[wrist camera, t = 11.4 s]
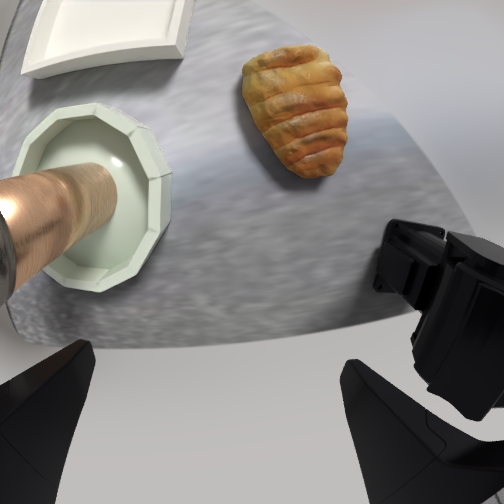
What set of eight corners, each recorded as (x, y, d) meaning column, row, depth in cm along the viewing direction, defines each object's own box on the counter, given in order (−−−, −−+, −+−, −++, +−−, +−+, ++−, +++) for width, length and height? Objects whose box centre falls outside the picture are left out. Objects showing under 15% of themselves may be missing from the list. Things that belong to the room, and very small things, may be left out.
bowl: (178, 105, 17) (168, 98, 14) (170, 281, 22) (161, 300, 19) (34, 119, 16) (13, 118, 13) (40, 265, 20) (23, 279, 18)
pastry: (355, 165, 19) (378, 169, 16) (271, 188, 20) (278, 197, 16) (320, 50, 16) (336, 33, 12) (232, 68, 16) (230, 51, 13)
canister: (103, 148, 17) (-26, 164, 6) (129, 214, 19) (24, 296, 7) (53, 180, 17) (-65, 222, 6) (77, 239, 19) (-24, 321, 8)
